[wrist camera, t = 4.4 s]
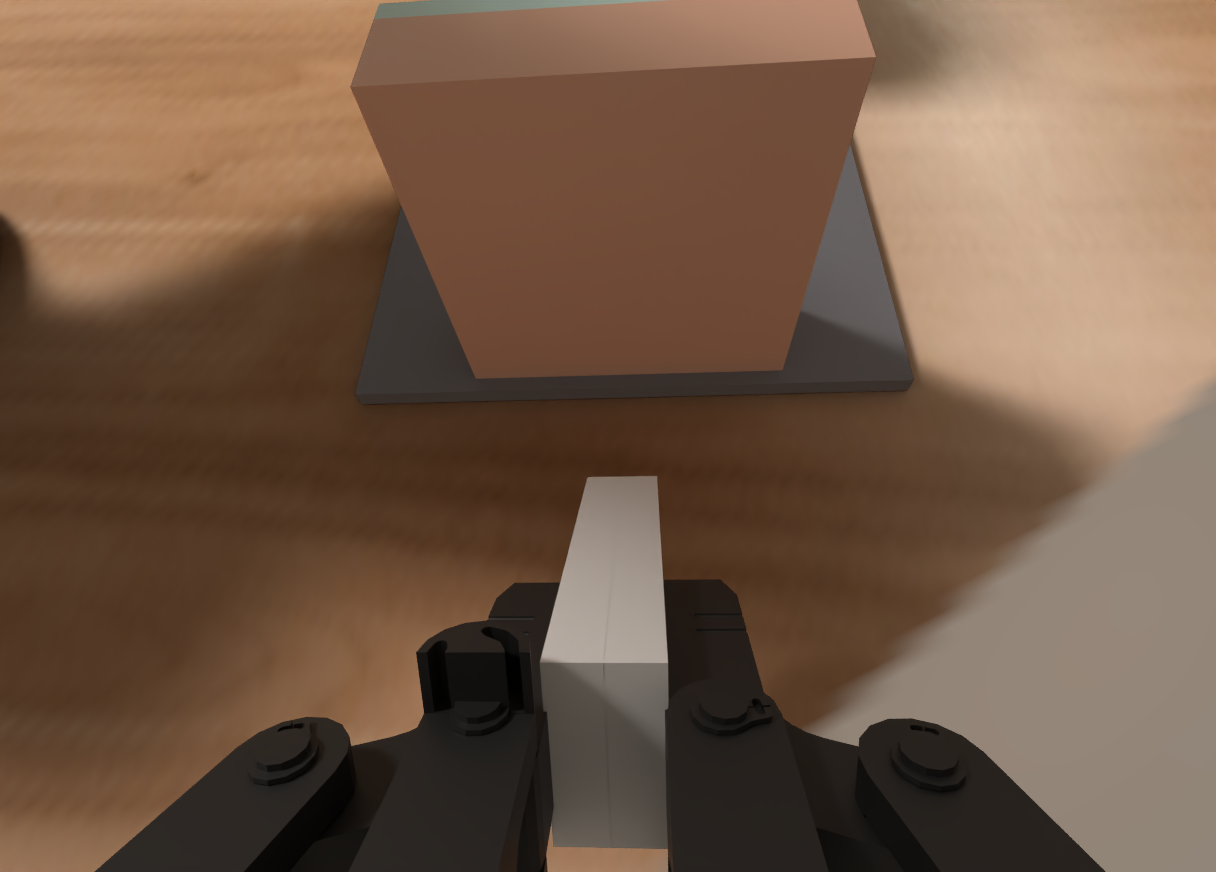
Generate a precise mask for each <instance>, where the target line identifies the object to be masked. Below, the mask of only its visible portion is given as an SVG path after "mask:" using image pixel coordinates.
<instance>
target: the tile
mask: <svg viewBox="0 0 1216 872" xmlns="http://www.w3.org/2000/svg"><path fill="white" fill-rule="evenodd" d="M875 59H876V55H875V52H874V49H873V46H872V43H871V40H870V37H869V34H868V31H867V29H866V26H865V23H864V20H863V17H862V14H861V11H860V8H859V5H858V2H857V0H430V1H415V2H399V3H384V4H379V6H378V9H377V12H376V15H375V17H374V20H373V23H372V26H371V29H370V32H369V35H368V38H367V40H366V43H365V46H364V49H363V52H362V55H361V58H360V61H359V63H358V66H357V69H356V72H355V75H354V78H353V81H352V84H351V86H350V87H351V89H352V92H353V94H354V96H355V99H356V101H357V103H358V106H359V108H360V110H361V113H362V115H363V117H364V120H365V122H366V124H367V127H368V129H369V131H370V134H371V136H372V138H373V141H374V143H375V145H376V148H377V150H378V152H379V155H380V157H381V159H382V162H383V164H384V166H385V169H386V171H387V173H388V176H389V178H390V180H391V183H392V185H393V187H394V190H395V192H396V194H397V197H398V199H399V201H400V204H401V206H402V208H403V211H404V213H405V215H406V218H407V220H408V222H409V225H410V227H411V229H412V231H413V234H414V236H415V238H416V241H417V243H418V245H419V248H420V250H421V252H422V255H423V257H424V259H425V262H426V264H427V266H428V269H429V271H430V273H431V276H432V278H433V280H434V283H435V285H436V287H437V290H438V292H439V294H440V297H441V299H442V301H443V304H444V306H445V308H446V311H447V313H448V315H449V318H450V320H451V322H452V325H453V327H454V329H455V332H456V334H457V336H458V339H459V341H460V343H461V346H462V348H463V350H464V353H465V355H466V357H467V360H468V362H469V364H470V367H471V369H472V371H473V374H474V376H475V378H476V379H486V378H522V377H558V376H594V375H631V374H667V373H703V372H739V371H776V370H783V367H784V364H785V360H786V357H787V354H788V350H789V347H790V344H791V340H792V337H793V333H794V330H795V327H796V323H797V320H798V317H799V313H800V310H801V307H802V303H803V300H804V297H805V293H806V290H807V287H808V283H809V280H810V277H811V273H812V270H813V266H814V263H815V260H816V256H817V253H818V250H819V246H820V243H821V240H822V236H823V233H824V230H825V226H826V223H827V220H828V216H829V213H830V210H831V206H832V203H833V199H834V196H835V193H836V189H837V186H838V183H839V179H840V176H841V173H842V169H843V166H844V163H845V159H846V156H847V153H848V149H849V146H850V143H851V139H852V136H853V132H854V129H855V126H856V122H857V119H858V116H859V112H860V109H861V106H862V102H863V99H864V96H865V92H866V89H867V86H868V82H869V79H870V76H871V72H872V69H873V65H874V62H875Z"/></svg>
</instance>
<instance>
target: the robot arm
mask: <svg viewBox="0 0 1216 872" xmlns="http://www.w3.org/2000/svg"><path fill="white" fill-rule="evenodd" d="M416 655H417V662H418V670H419V677H420V685H421V692H422V700H423V707H424V715H423V717H422V719H421V721H420V723H419V725H418V727H417V728H416V729H413V730H411V731H409V732H406V733H403V734H400V735H397V736H393V737H390V738H385V739H381V740H377V741H372V742H368V743H363V744H359V745H355V746H351V743H350V737H349V735H348V733H347V732H346V730H345V729H344V727H343V725H342V724H340V723H337V722H335V721H333V720H331V719H328V718H316V717H305V718H300V719H295V720H291V721H286V722H282V723H280V724H277V725H275V726H273V727H271V728H268V729H266V730H264V731H261V732H259V733H257V734H256V735H255V736H253V737H252V738H250V739H249V740H247V741H246V742H244V743H243V744H242V745H240V746H239V747H237V748H236V749H235V750H234V751H233V752H231V753H230V754H229V755H228V756H227V757H226V758H225V759H223V760H222V761H221V762H220V763H219V764H218V765H217V766H215V767H214V768H213V769H212V770H211V771H210V772H209V773H207V774H206V775H205V776H204V777H203V778H202V779H200V780H199V781H198V782H197V783H196V784H195V785H194V786H192V787H191V788H190V789H189V790H188V791H187V792H186V793H184V794H183V795H182V796H181V797H180V798H179V799H177V800H176V801H175V802H174V803H173V804H172V805H171V806H169V807H168V808H167V809H166V810H165V811H164V812H163V813H161V814H160V815H159V816H158V817H157V818H156V819H155V820H153V821H152V822H151V823H150V824H149V825H148V826H146V827H145V828H144V829H143V830H142V831H141V832H140V833H138V834H137V835H136V836H135V837H134V838H133V839H132V840H130V841H129V842H128V843H127V844H126V845H125V846H124V847H122V848H121V849H120V850H119V851H118V852H117V853H115V854H114V855H113V856H112V857H111V858H110V859H109V860H107V861H106V862H105V863H104V864H103V865H102V866H101V867H99V868H98V869H97V870H96V871H95V872H547V859H546V851H547V845H548V839H549V833H550V827H551V821H552V835H553V847H600V848H649V849H668V872H1105V871H1104V870H1103V869H1102V868H1101V867H1100V866H1099V865H1098V864H1097V863H1096V862H1095V861H1094V860H1093V859H1092V858H1091V857H1090V856H1089V855H1088V854H1087V853H1086V852H1085V851H1084V850H1083V849H1082V848H1081V847H1080V846H1079V845H1078V844H1077V843H1076V842H1075V841H1074V840H1072V838H1071V837H1069V835H1068V834H1067V833H1065V832H1064V830H1063V829H1061V828H1060V826H1059V825H1057V824H1056V823H1055V822H1054V821H1053V820H1052V819H1051V818H1050V817H1049V816H1048V815H1047V814H1046V813H1045V812H1044V811H1043V810H1042V809H1041V808H1040V807H1039V806H1038V805H1037V804H1036V803H1035V802H1034V801H1033V800H1032V799H1031V798H1030V797H1029V796H1028V795H1027V794H1026V793H1025V792H1024V791H1023V790H1022V789H1021V788H1020V787H1019V786H1018V785H1017V784H1016V783H1014V781H1013V780H1012V779H1011V778H1010V777H1009V776H1007V774H1006V773H1005V772H1004V771H1003V770H1001V769H1000V768H999V767H998V766H997V765H996V764H995V763H994V762H993V761H992V760H991V759H990V758H989V757H988V756H987V755H986V754H985V753H984V752H983V751H982V750H980V749H979V748H978V747H976V746H975V745H974V744H972V743H971V742H970V741H968V740H967V739H966V738H964V737H963V736H962V735H959V734H957V733H955V732H953V731H951V730H948V729H946V728H944V727H942V726H940V725H938V724H933V723H929V722H925V721H920V720H915V719H887V720H884V721H881V722H879V723H876V724H874V725H870V726H869V727H868V729H867V730H866V731H865V732H864V733H863V734H862V736H861V737H860V738H859V747H858V746H854V745H850V744H846V743H842V742H838V741H834V740H829V739H825V738H822V737H819V736H816V735H813V734H810V733H807V732H805V731H803V730H801V729H799V728H797V727H795V726H793V725H791V724H790V723H789V722H787V721H786V720H785V719H783V716H782V714H781V712H780V710H779V709H778V707H777V705H776V704H775V702H774V700H773V699H771V698H770V697H769V696H767V695H766V694H765V693H764V692H763V688H762V685H761V681H760V677H759V674H758V670H757V666H756V663H755V659H754V655H753V652H752V648H751V645H750V641H749V637H748V634H747V633H746V626H745V623H744V619H743V617H742V612H741V608H740V604H739V601H738V597H737V595H736V594H735V593H734V592H733V591H732V590H731V589H730V588H729V587H728V586H727V585H726V584H724V583H723V582H722V581H721V580H663V570H662V553H661V536H660V519H659V502H658V485H657V476H623V477H587V481H586V485H585V489H584V493H583V496H582V500H581V504H580V508H579V512H578V516H577V520H576V524H575V528H574V531H573V535H572V539H571V543H570V547H569V551H568V555H567V559H566V563H565V566H564V570H563V574H562V578H561V582H560V583H514V584H513V585H512V586H511V587H509V588H508V589H507V590H506V591H505V592H503V593H502V594H501V595H500V596H499V597H497V598H496V601H495V603H494V605H493V607H492V610H491V612H490V614H489V620H487V621H480V622H471V623H464V624H461V625H458V626H455V627H451V628H448V629H445V630H443V631H442V632H440V633H438V634H437V635H435V636H433V637H431V638H430V639H428V640H427V641H426V642H425V643H424V644H423V645H422V647H421V648H420V649H419V650H418V651H417V652H416Z"/></svg>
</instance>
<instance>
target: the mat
mask: <svg viewBox="0 0 1216 872" xmlns="http://www.w3.org/2000/svg"><path fill="white" fill-rule="evenodd" d="M913 381H914V378H913V374H912V371H911V367H910V363H909V360H908V356H907V352H906V349H905V345H904V341H903V337H902V334H901V330H900V326H899V323H898V319H897V315H896V312H895V308H894V304H893V301H892V297H891V293H890V289H889V286H888V282H887V278H886V275H885V271H884V267H883V264H882V260H881V256H880V252H879V249H878V245H877V241H876V238H875V234H874V230H873V227H872V223H871V219H870V215H869V212H868V208H867V204H866V201H865V197H864V193H863V190H862V186H861V182H860V178H859V175H858V171H857V167H856V164H855V160H854V156H853V153H852V149H851V145H850V146H849V149H848V153H847V156H846V159H845V163H844V166H843V169H842V173H841V176H840V179H839V183H838V186H837V189H836V193H835V196H834V199H833V203H832V206H831V210H830V213H829V216H828V220H827V223H826V226H825V230H824V233H823V236H822V240H821V243H820V246H819V250H818V253H817V256H816V260H815V263H814V266H813V270H812V273H811V277H810V280H809V283H808V287H807V290H806V293H805V297H804V300H803V303H802V307H801V310H800V313H799V317H798V320H797V323H796V327H795V330H794V333H793V337H792V340H791V344H790V347H789V350H788V354H787V357H786V360H785V364H784V367H783V370H776V371H739V372H703V373H667V374H631V375H594V376H558V377H522V378H486V379H476V378H475V376H474V374H473V371H472V369H471V367H470V364H469V362H468V360H467V357H466V355H465V353H464V350H463V348H462V346H461V343H460V341H459V339H458V336H457V334H456V332H455V329H454V327H453V325H452V322H451V320H450V318H449V315H448V313H447V311H446V308H445V306H444V304H443V301H442V299H441V297H440V294H439V292H438V290H437V287H436V285H435V283H434V280H433V278H432V276H431V273H430V271H429V269H428V266H427V264H426V262H425V259H424V257H423V255H422V252H421V250H420V248H419V245H418V243H417V241H416V238H415V236H414V234H413V231H412V229H411V227H410V225H409V222H408V220H407V218H406V215H405V213H404V211H403V208H402V206H401V209H400V213H399V217H398V221H397V225H396V229H395V233H394V237H393V241H392V245H391V249H390V254H389V258H388V262H387V266H386V270H385V274H384V278H383V282H382V286H381V290H380V294H379V298H378V302H377V307H376V311H375V315H374V319H373V323H372V327H371V331H370V335H369V339H368V343H367V347H366V351H365V355H364V360H363V364H362V368H361V372H360V376H359V380H358V384H357V388H356V392H355V395H356V397H357V398H358V399H359V401H360V402H361V403H362V404H392V403H431V402H470V401H510V400H549V399H589V398H628V397H667V396H707V395H746V394H785V393H825V392H864V391H904V390H908V389H909V387H910V385H911V384H912V382H913Z"/></svg>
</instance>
